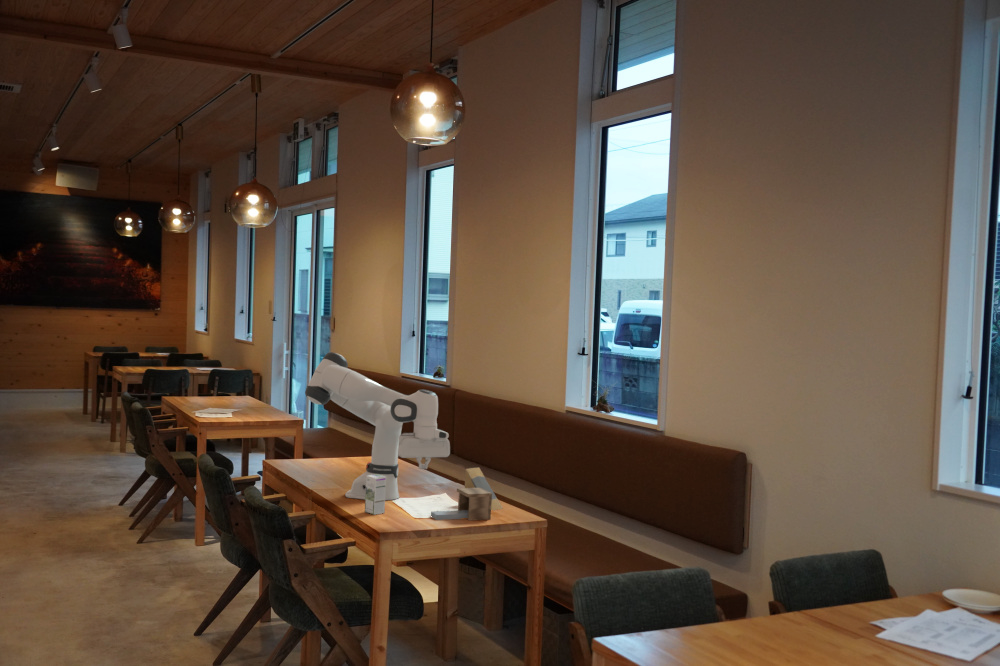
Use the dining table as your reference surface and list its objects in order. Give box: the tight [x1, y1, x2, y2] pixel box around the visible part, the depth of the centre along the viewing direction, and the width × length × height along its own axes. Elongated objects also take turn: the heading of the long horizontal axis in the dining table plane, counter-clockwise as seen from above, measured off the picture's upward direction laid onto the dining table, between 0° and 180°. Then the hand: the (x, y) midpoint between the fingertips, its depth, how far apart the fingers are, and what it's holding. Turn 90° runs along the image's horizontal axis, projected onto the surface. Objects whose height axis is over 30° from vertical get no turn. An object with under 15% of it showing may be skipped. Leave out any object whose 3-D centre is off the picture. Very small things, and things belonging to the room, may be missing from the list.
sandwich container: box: [464, 467, 504, 511], centre depth 361 cm, size 9×15×15 cm, turn 48°
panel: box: [430, 509, 468, 521], centre depth 338 cm, size 20×6×2 cm, turn 115°
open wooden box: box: [456, 487, 492, 521], centre depth 340 cm, size 10×11×10 cm
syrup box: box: [364, 474, 386, 516], centre depth 337 cm, size 6×6×14 cm
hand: (423, 468), depth 330 cm, fingers closed
